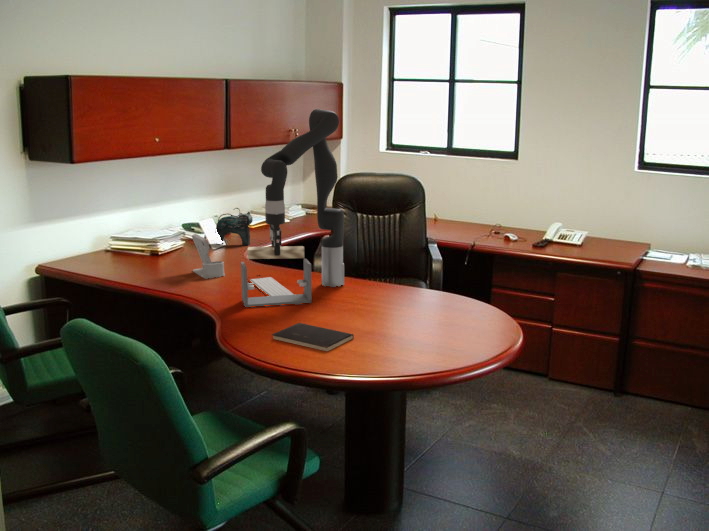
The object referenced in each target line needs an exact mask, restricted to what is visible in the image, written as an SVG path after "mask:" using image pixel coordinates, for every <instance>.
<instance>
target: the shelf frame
mask: <svg viewBox="0 0 709 531" xmlns="http://www.w3.org/2000/svg"><path fill="white" fill-rule="evenodd" d="M247 267H248V266H247V265H246V263H245V261H241V262H240V276H241V277H240V278H241V280H240V281H241V301H243V302H242V304H243V303H244V304H243V306H245V307H250V306H251V308H253V307H252V306H264V305H280V306H282V305H281V304H295V305H302V304H301V303H310V304H312V303H313V302H312V301H313V300H312V298H313V297H312V263H311V262H310V261H309V260H308V259H307V258H303V279H297V281H296V283H297V285H299V288H301V287H302V288H303V293H301V294H300V293H298V294H294V295H281V296H253V297H252V296H251V297H249V294H248V292H249V291H252V290H255V289H256V288H255V287H254V285H253V283H249V282H248V268H247ZM245 307H244V308H245Z"/></svg>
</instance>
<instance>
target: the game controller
mask: <svg viewBox="0 0 709 531" xmlns="http://www.w3.org/2000/svg"><path fill="white" fill-rule="evenodd" d="M236 209H237V210H239V213H238V215H233V214H231V213H223V214H221V215H219V217H218V219H217V223H216V228H215V230H216V229H217V232H218V234H219V235H220V237H221V240H222V241H225V237H226V235H227V234H230V233H231V234H237V235H239V236H240V239H241V244H242V246H243V247H244V246H246V247H247V246H248V247H249V246H251V234H250V233H251V232H250V228H249V227H250V225H252V223H253V216H252V215H251V213H250V211H248V212H246V213H243V212H241V209H240V208H238V207H235V208H234V210H236ZM225 215H228V216H225ZM222 216H223V217H222Z"/></svg>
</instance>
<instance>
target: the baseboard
mask: <svg viewBox="0 0 709 531" xmlns="http://www.w3.org/2000/svg"><path fill="white" fill-rule="evenodd" d="M267 276H268V277H267ZM267 276H266V277H261V275H260V274H259V275H256V277H258V278H256V277H254V278H250V277H249V276H247V279H249V280H250V281H251V282H252V283H253V284H255V285H256V286H257V287H258V288H259V289H261V290H262V291H264V292H265V293H266V294H268V295H269V296H281V295H295V294H294V293H293V292H292V291H291V290H289V289H288V288H286V287H285V286H283V284H281V283H279V282H278V281H277V280H276V279H275V278H273V277H271V274H269V275H267Z"/></svg>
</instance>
